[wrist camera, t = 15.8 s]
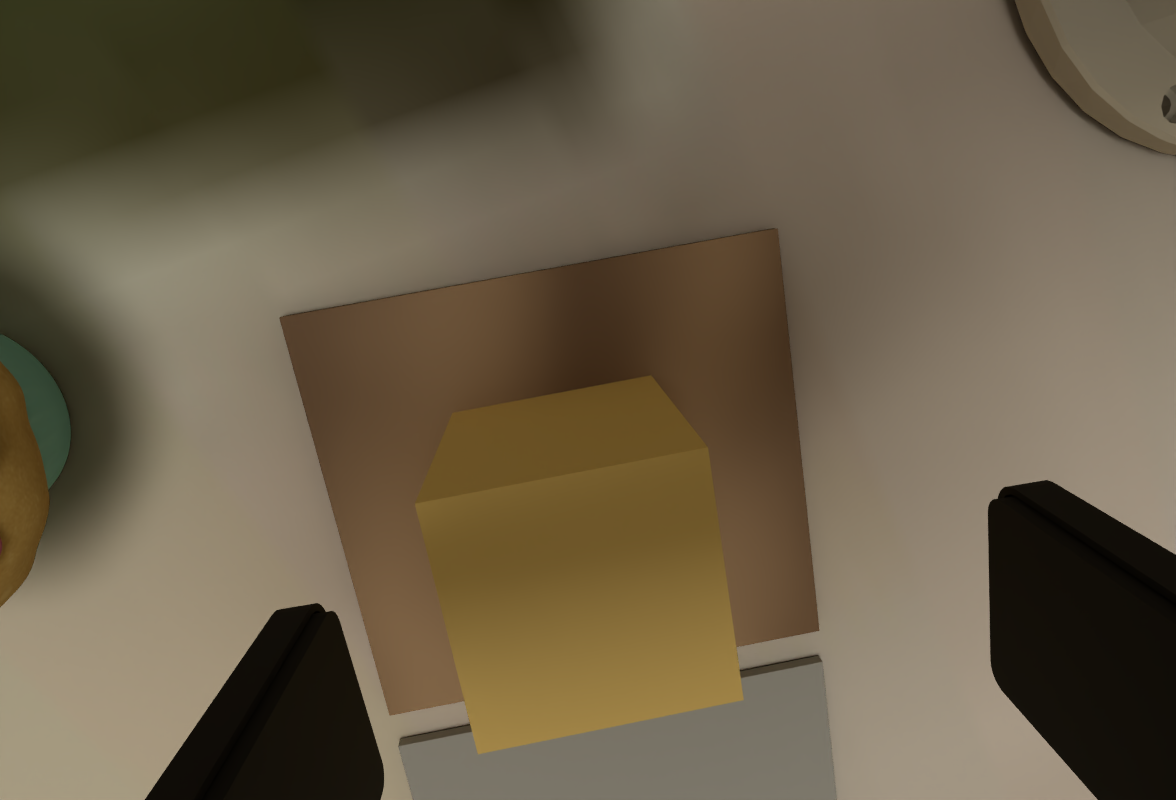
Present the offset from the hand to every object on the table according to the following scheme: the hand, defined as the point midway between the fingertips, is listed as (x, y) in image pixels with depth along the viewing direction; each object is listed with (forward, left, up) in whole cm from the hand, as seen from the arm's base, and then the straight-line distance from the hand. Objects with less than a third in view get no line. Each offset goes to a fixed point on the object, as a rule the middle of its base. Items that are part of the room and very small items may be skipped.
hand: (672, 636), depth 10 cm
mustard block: (+1, +1, -9) cm, 9 cm away
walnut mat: (+1, +1, -9) cm, 9 cm away
